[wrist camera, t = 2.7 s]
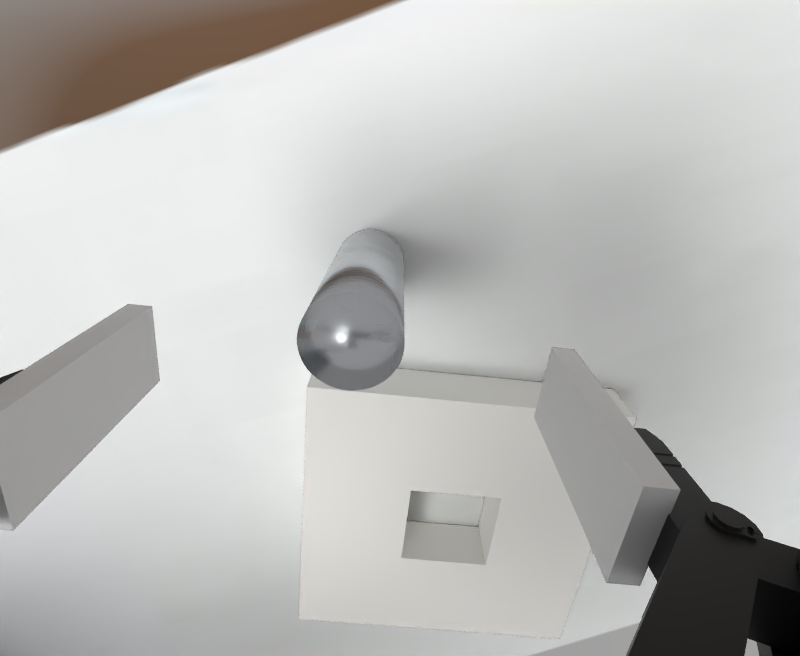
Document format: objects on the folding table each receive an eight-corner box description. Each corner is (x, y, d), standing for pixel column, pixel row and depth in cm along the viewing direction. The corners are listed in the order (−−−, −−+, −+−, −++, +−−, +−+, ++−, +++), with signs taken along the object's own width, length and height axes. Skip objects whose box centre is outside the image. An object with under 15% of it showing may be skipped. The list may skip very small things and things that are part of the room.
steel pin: (335, 290, 30) (295, 385, 18) (339, 225, 28) (298, 287, 17) (399, 296, 30) (398, 395, 19) (406, 233, 28) (410, 298, 17)
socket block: (307, 578, 39) (298, 619, 36) (316, 360, 31) (306, 387, 28) (547, 597, 40) (560, 638, 36) (613, 389, 32) (636, 417, 29)
